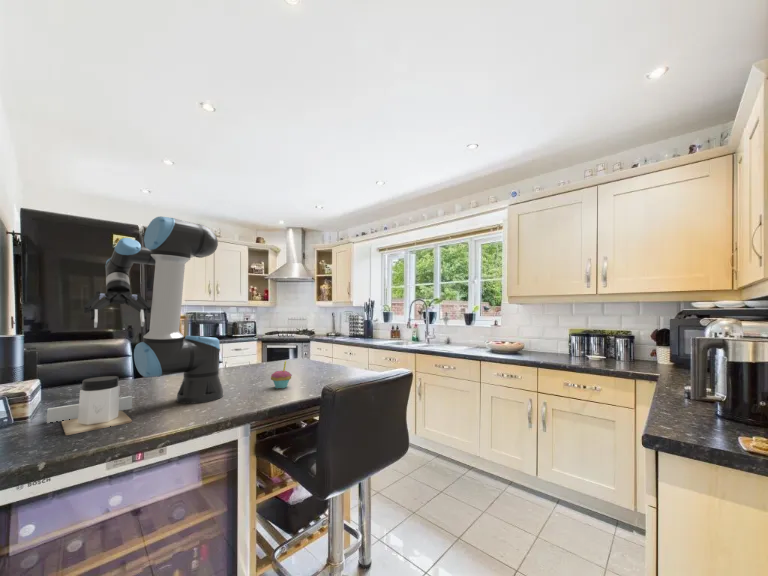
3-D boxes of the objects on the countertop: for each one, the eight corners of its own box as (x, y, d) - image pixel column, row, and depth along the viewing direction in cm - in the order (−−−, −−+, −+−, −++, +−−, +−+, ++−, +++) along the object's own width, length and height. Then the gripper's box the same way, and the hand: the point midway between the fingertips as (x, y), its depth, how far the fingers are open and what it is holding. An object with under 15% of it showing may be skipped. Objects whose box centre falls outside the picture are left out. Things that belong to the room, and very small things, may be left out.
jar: (76, 427, 91) (79, 383, 92) (78, 420, 97) (81, 378, 98) (118, 420, 97) (120, 378, 97) (117, 414, 103) (120, 374, 104)
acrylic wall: (130, 407, 112) (131, 395, 112) (131, 408, 111) (132, 396, 111) (46, 422, 97) (47, 408, 97) (46, 423, 96) (47, 409, 96)
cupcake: (294, 385, 146) (294, 357, 147) (286, 390, 137) (287, 360, 138) (275, 385, 147) (276, 357, 147) (266, 389, 138) (267, 360, 139)
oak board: (122, 412, 106) (122, 410, 106) (131, 422, 97) (131, 420, 97) (61, 423, 96) (61, 421, 96) (65, 435, 87) (66, 433, 87)
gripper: (153, 294, 144) (158, 330, 132) (75, 291, 127) (73, 332, 115) (156, 281, 141) (162, 317, 129) (76, 276, 123) (74, 317, 112)
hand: (120, 324), depth 122 cm, fingers open, 13 cm apart
